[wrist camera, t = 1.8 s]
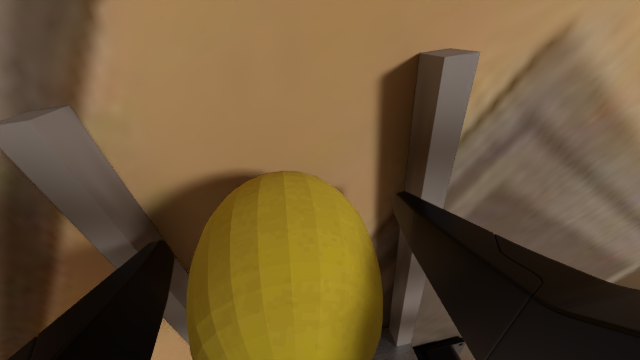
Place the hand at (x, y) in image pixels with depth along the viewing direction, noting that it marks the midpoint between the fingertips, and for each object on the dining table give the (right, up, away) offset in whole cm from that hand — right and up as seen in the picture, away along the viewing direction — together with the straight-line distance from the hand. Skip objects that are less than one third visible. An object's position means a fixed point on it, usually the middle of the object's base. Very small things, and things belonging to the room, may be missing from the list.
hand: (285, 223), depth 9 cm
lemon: (0, +1, +2) cm, 2 cm away
